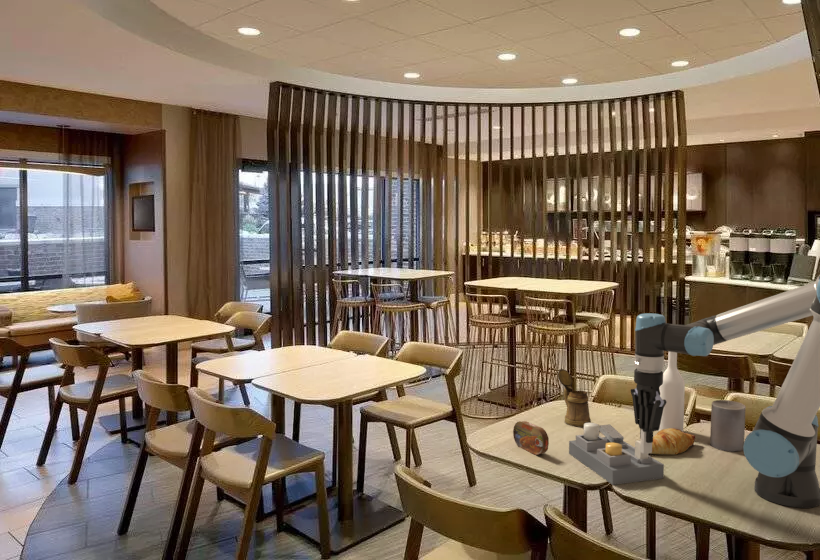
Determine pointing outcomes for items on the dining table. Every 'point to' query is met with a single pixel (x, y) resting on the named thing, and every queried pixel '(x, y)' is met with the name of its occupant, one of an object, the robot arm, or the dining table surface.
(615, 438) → the plate
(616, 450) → the amber button
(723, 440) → the pillar candle
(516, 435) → the tin
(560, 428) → the dining table surface
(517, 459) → the dining table surface
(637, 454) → the slider knob
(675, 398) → the bottle
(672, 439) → the croissant
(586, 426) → the white button
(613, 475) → the panel
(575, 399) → the wooden mug
